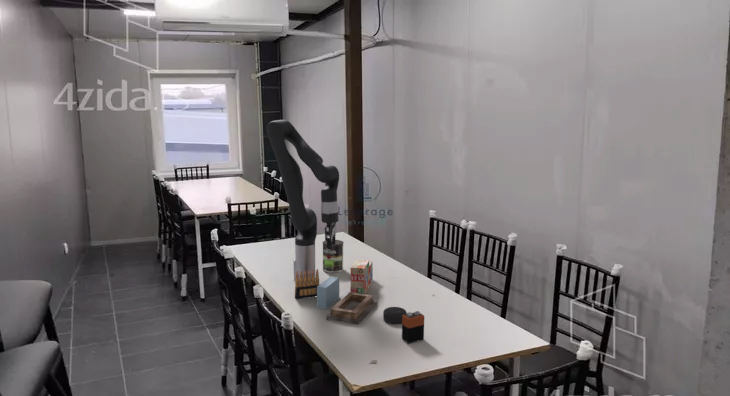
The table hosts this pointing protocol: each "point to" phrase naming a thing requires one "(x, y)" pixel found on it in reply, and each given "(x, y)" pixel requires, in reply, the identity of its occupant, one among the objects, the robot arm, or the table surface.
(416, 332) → the battery
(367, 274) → the stack of blocks
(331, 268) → the coffee can
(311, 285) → the ammunition clip
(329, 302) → the blue grey rectangular block
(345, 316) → the cradle
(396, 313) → the smart speaker
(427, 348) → the table surface
